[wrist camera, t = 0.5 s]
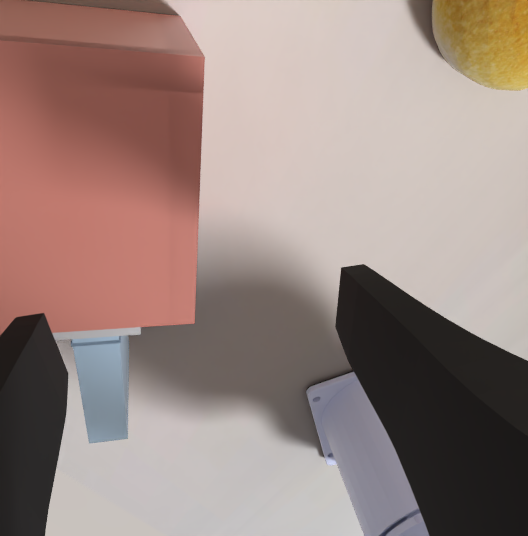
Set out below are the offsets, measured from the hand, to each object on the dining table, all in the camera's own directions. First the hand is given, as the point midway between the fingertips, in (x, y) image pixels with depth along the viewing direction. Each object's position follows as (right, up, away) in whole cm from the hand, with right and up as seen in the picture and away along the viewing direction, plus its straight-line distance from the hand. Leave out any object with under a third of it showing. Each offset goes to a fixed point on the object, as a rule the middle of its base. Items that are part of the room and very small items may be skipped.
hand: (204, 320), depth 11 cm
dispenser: (-5, +7, +6) cm, 10 cm away
